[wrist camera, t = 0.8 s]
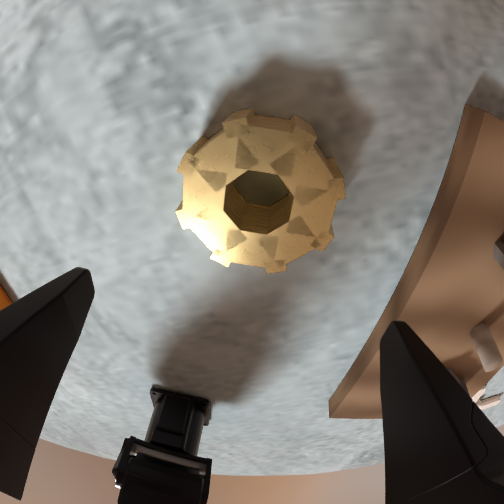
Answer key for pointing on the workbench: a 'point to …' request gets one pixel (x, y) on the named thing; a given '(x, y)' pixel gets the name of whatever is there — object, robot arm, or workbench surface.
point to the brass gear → (253, 215)
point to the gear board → (449, 275)
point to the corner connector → (486, 402)
